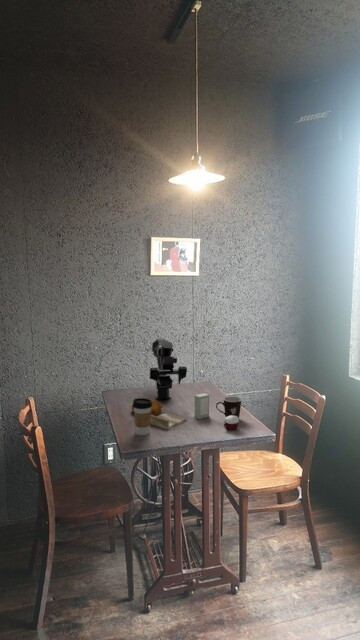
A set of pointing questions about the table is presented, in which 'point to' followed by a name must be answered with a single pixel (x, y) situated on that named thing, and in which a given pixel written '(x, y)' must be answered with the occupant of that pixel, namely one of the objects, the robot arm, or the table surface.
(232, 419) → the cocoa
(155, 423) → the ledge board
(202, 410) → the sage green box
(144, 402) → the coffee cup
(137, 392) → the table surface
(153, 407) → the croissant
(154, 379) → the robot arm
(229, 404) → the coffee mug
